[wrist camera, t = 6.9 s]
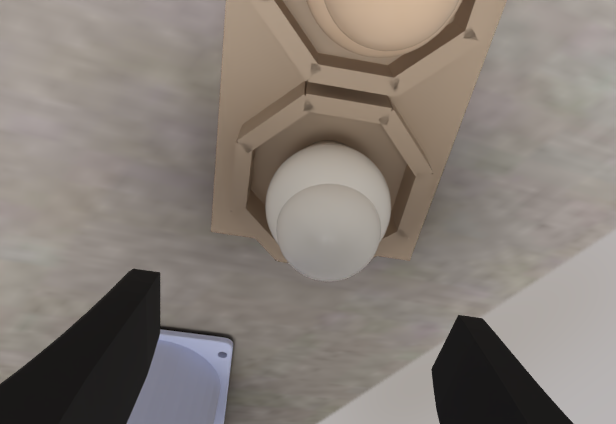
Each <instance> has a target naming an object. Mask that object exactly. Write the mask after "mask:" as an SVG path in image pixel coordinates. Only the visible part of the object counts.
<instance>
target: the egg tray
mask: <svg viewBox="0 0 616 424" xmlns="http://www.w3.org/2000/svg"><path fill="white" fill-rule="evenodd" d="M506 1H507V0H462V2H461V4H460V6H459V8H458V10H457V12H456V13H455V15H454V16H453V18H452V19H451V20H450V22H449V23H448V24H447V25H446V26H445V28H444V29H443V30H442V31H441V32H440V33H439V34H438V35H437V36H435V37H434V38H433V39H432V40H430V41H429V42H428V43H426V44H425V45H423V46H421V47H419V48H418V49H416V50H413V51H411V52H409V53H406V54H403V55H399V56H395V57H388V58H374V57H366V56H362V55H358V54H356V53H353V52H351V51H348V50H346V49H344V48H343V47H341V46H339V45H338V44H336V43H335V42H334V41H333V40H331V39H330V38H329V37H328V36H327V35H326V34H325V33H324V32H323V31H322V29H321V28H320V27H319V25H318V24H317V22H316V21H315V19H314V17H313V15H312V14H311V11H310V9H309V6H308V4H307V1H306V0H226V8H225V23H224V38H223V54H222V69H221V84H220V100H219V115H218V131H217V146H216V161H215V177H214V192H213V207H212V223H211V232H216V233H223V234H229V235H236V236H243V237H250V238H255V239H256V240H257V241H258V242H259V243H260V244H261V245H262V246H263V247H264V248H265V250H266V251H267V252H268V253H269V254H270V255H271V256H272V257H273V258H274V259H275V260H278V262H285V263H288V261H287V260H286V259H285V257H284V256H283V254H282V252H281V249H280V247H279V245H278V244H277V242H276V241H275V239H274V237H273V236H272V233H271V231H270V229H269V226H268V223H267V218H266V210H265V205H266V195H267V190H268V187H269V185H270V182H271V179H272V178H273V176H274V174H275V172H276V171H277V170H278V168H279V167H280V166H281V164H282V163H283V162H285V161H286V160H287V159H288V158H289V157H290V156H292V155H293V154H295V153H296V152H298V151H300V150H302V149H303V148H305V147H306V146H308V145H310V144H312V143H314V142H317V141H322V140H333V141H338V142H341V143H343V144H345V145H347V146H349V147H350V148H352V149H355V150H357V151H358V152H360V153H362V154H363V155H365V156H366V157H368V158H369V159H370V160H371V161H372V162H373V163H374V164H375V165H376V166H377V168H378V169H379V170H380V171H381V173H382V175H383V176H384V178H385V181H386V183H387V186H388V188H389V192H390V198H391V215H390V221H389V225H388V227H387V230H386V232H385V235H384V237H383V238H382V240H381V241H380V243H379V246H378V248H377V251H376V253H375V255H374V257H376V256H381V257H388V258H395V259H402V260H408V261H410V259H411V256H412V253H413V251H414V248H415V245H416V243H417V240H418V237H419V234H420V232H421V229H422V226H423V224H424V221H425V218H426V216H427V213H428V210H429V208H430V205H431V202H432V200H433V197H434V194H435V192H436V189H437V186H438V184H439V181H440V178H441V175H442V173H443V170H444V167H445V165H446V162H447V159H448V157H449V154H450V151H451V149H452V146H453V143H454V141H455V138H456V135H457V133H458V130H459V127H460V125H461V122H462V119H463V117H464V114H465V111H466V108H467V106H468V103H469V100H470V98H471V95H472V92H473V90H474V87H475V84H476V82H477V79H478V76H479V74H480V71H481V68H482V66H483V63H484V60H485V58H486V55H487V52H488V49H489V47H490V44H491V41H492V39H493V36H494V33H495V31H496V28H497V25H498V23H499V20H500V17H501V15H502V12H503V9H504V7H505V4H506ZM374 257H373V258H374Z"/></svg>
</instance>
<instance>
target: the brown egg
mask: <svg viewBox="0 0 616 424" xmlns="http://www.w3.org/2000/svg"><path fill="white" fill-rule="evenodd" d="M306 1H307V4H308V6H309V9H310V11H311V14H312V15H313V17H314V19H315V21H316V22H317V24H318V25H319V27H320V28H321V29H322V31H323V32H324V33H325V34H326V35H327V36H328V37H329V38H330V39H331V40H333V41H334V42H335V43H336V44H338V45H339V46H341V47H343V48H344V49H346V50H348V51H351V52H353V53H356V54H358V55H362V56H366V57H374V58H388V57H395V56H399V55H403V54H406V53H409V52H411V51H413V50H416V49H418V48H419V47H421V46H423V45H425V44H426V43H428V42H429V41H430V40H432V39H433V38H434V37H435V36H437V35H438V34H439V33H440V32H441V31H442V30H443V29H444V28H445V26H446V25H447V24H448V23H449V22H450V20H451V19H452V18H453V16H454V15H455V13H456V12H457V10H458V8H459V6H460V4H461V2H462V0H306Z"/></svg>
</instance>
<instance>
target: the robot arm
mask: <svg viewBox="0 0 616 424" xmlns="http://www.w3.org/2000/svg"><path fill="white" fill-rule="evenodd" d="M232 352H233V342H232V341H231V340H230V339H228V338H225V337H217V336H209V335H201V334H193V333H186V332H178V331H170V330H162V329H160V272H153V271H146V270H139V269H132V270H131V271H129V272H128V273H127V274H126V275H125V276H124V277H123V278H122V279H121V280H120V281H119V282H118V283H117V284H116V285H115V286H114V287H113V288H112V289H111V290H110V291H109V292H108V293H107V294H106V295H105V296H104V297H103V298H102V299H101V300H100V301H99V302H98V303H97V304H95V305H94V306H93V307H92V308H91V309H90V310H89V311H88V312H87V313H86V314H85V315H84V316H82V317H81V318H80V319H79V320H78V321H77V322H76V323H75V324H73V325H72V326H71V327H70V328H69V329H68V330H67V331H66V332H65V333H63V334H62V335H61V336H60V337H59V338H58V339H56V340H55V341H54V342H53V343H52V344H50V345H49V346H48V347H47V348H45V349H44V350H43V351H42V352H41V353H39V354H38V355H37V356H36V357H34V358H33V359H32V360H31V361H30V362H28V363H27V364H26V365H25V366H23V367H22V368H21V369H19V370H18V371H17V372H16V373H14V374H13V375H12V376H10V377H9V378H8V379H6V380H5V381H4V382H2V383H1V384H0V424H224V420H225V411H226V403H227V394H228V386H229V377H230V369H231V360H232ZM432 378H433V387H434V395H435V402H436V409H437V413H438V418H439V422H440V424H573V423H572V421H571V420H570V419H569V418H568V417H567V416H566V415H565V414H564V413H563V412H562V411H561V410H560V408H558V406H557V405H556V404H555V403H554V402H553V401H552V400H551V398H550V397H549V396H548V395H547V394H546V393H545V392H544V390H543V389H542V388H541V387H540V386H539V385H538V384H537V382H536V381H535V380H534V379H533V378H532V376H531V375H530V374H529V373H528V372H527V371H526V369H525V368H524V367H523V366H522V365H521V363H520V362H519V361H518V360H517V359H516V357H515V356H514V355H513V354H512V353H511V351H510V350H509V349H508V348H507V347H506V346H505V344H504V343H503V342H502V341H501V339H500V338H499V337H498V336H497V335H496V334H495V332H494V331H493V330H492V329H491V328H490V326H489V325H488V324H487V323H486V322H485V321H484V320H483V319H482V318H476V317H469V316H462V315H458V317H457V319H456V321H455V323H454V325H453V327H452V329H451V331H450V333H449V335H448V337H447V339H446V341H445V343H444V345H443V347H442V349H441V351H440V353H439V355H438V357H437V359H436V361H435V363H434V365H433V367H432Z"/></svg>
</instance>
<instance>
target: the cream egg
mask: <svg viewBox="0 0 616 424" xmlns="http://www.w3.org/2000/svg"><path fill="white" fill-rule="evenodd" d="M265 210H266V218H267V223H268V226H269V229H270V231H271V233H272V236H273V237H274V239H275V241H276V242H277V244H278V245H279V247H280V249H281V252H282V254H283V256H284V257H285V259H286V260H287V261H288V263H289V264H290V265H291V266H292V267H293V268H294V269H295V270H296V271H298V272H299V273H301V274H302V275H304V276H306V277H308V278H310V279H314V280H318V281H325V282H333V281H340V280H344V279H347V278H349V277H352V276H354V275H355V274H357V273H358V272H360V271H361V270H362V269H364V268H365V267H366V266H367V265H368V263H369V262H370V261H371V260H372V258H373V257H374V255H375V253H376V251H377V248H378V246H379V243H380V241H381V240H382V238H383V237H384V235H385V232H386V230H387V227H388V225H389V221H390V215H391V198H390V192H389V188H388V186H387V183H386V181H385V178H384V176H383V175H382V173H381V171H380V170H379V169H378V168H377V166H376V165H375V164H374V163H373V162H372V161H371V160H370V159H369V158H368V157H366V156H365V155H363V154H362V153H360V152H358V151H357V150H355V149H352V148H350V147H349V146H347V145H345V144H343V143H341V142H338V141H333V140H322V141H317V142H314V143H312V144H310V145H308V146H306V147H305V148H303V149H302V150H300V151H298V152H296V153H295V154H293V155H292V156H290V157H289V158H288V159H287V160H286V161H285V162H283V163H282V164H281V166H280V167H279V168H278V170H277V171H276V172H275V174H274V176H273V178H272V179H271V182H270V185H269V187H268V190H267V195H266V205H265Z"/></svg>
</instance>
